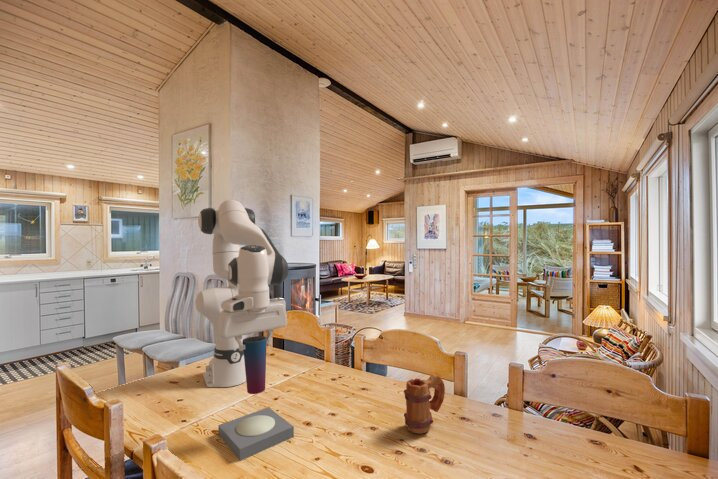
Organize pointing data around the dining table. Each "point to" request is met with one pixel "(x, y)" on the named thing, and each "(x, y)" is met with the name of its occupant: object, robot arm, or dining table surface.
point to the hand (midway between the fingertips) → (254, 347)
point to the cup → (255, 363)
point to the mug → (422, 402)
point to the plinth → (255, 432)
